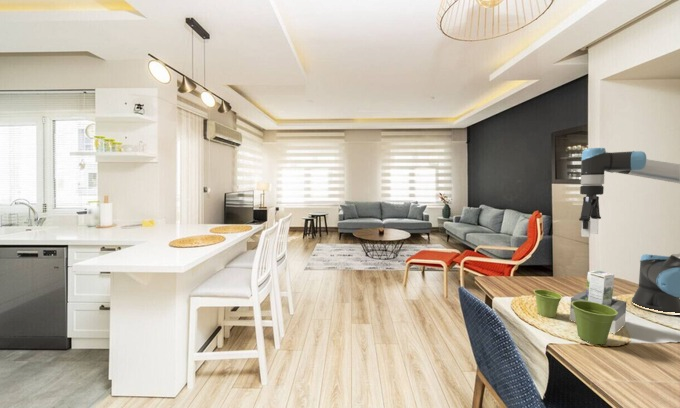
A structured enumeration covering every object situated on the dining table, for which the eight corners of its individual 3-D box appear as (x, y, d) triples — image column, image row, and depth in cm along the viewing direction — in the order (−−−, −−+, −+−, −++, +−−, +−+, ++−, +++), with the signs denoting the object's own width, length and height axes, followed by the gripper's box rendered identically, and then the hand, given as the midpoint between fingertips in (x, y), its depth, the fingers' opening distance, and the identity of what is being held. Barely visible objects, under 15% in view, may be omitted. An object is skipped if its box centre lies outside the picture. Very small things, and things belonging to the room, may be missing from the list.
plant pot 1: (562, 314, 119) (563, 293, 118) (559, 322, 112) (560, 300, 111) (535, 307, 125) (536, 287, 124) (530, 314, 118) (531, 293, 118)
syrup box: (593, 306, 115) (596, 269, 114) (611, 312, 110) (614, 273, 109) (584, 307, 113) (586, 270, 112) (602, 314, 108) (605, 275, 107)
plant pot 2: (560, 330, 105) (562, 299, 104) (594, 331, 105) (597, 300, 104) (587, 349, 93) (590, 314, 93) (626, 350, 93) (628, 315, 92)
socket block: (581, 312, 121) (582, 291, 120) (624, 325, 110) (626, 301, 109) (569, 320, 113) (571, 297, 113) (614, 334, 103) (616, 309, 102)
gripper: (588, 185, 135) (586, 231, 136) (572, 185, 119) (570, 236, 121) (610, 185, 129) (607, 233, 130) (596, 185, 114) (593, 239, 115)
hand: (589, 235), depth 125 cm, fingers open, 13 cm apart
